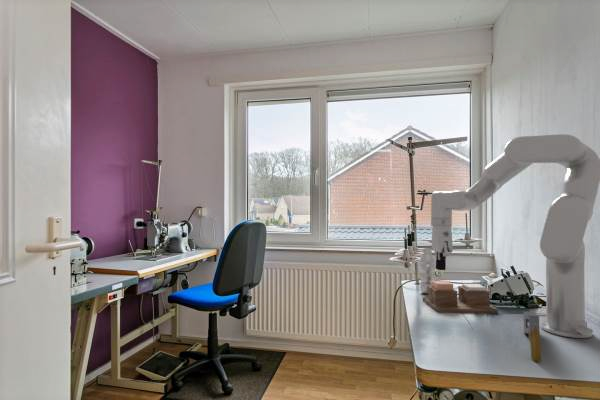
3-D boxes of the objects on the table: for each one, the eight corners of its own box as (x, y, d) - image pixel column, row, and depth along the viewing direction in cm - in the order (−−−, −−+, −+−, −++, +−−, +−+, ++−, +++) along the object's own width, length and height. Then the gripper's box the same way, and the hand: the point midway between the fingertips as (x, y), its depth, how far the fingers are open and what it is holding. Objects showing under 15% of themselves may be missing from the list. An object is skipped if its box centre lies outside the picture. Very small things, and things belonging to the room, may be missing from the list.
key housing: (497, 313, 125) (497, 293, 125) (436, 312, 126) (436, 293, 126) (476, 301, 141) (476, 284, 141) (422, 300, 142) (422, 283, 142)
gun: (537, 364, 103) (534, 313, 108) (545, 363, 83) (541, 300, 88) (524, 362, 104) (522, 311, 110) (529, 360, 85) (527, 298, 90)
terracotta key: (453, 297, 130) (453, 284, 130) (437, 297, 131) (437, 284, 131) (447, 293, 136) (446, 280, 136) (431, 293, 137) (431, 280, 137)
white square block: (485, 300, 130) (485, 287, 130) (469, 300, 130) (469, 287, 130) (477, 296, 136) (477, 283, 136) (462, 296, 136) (462, 283, 136)
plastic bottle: (416, 292, 155) (416, 248, 155) (427, 291, 158) (427, 247, 158) (427, 296, 149) (427, 250, 149) (438, 294, 152) (438, 249, 152)
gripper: (459, 224, 127) (458, 273, 126) (443, 222, 142) (443, 266, 141) (438, 223, 127) (437, 273, 127) (425, 221, 142) (424, 266, 142)
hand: (440, 269), depth 134 cm, fingers closed
